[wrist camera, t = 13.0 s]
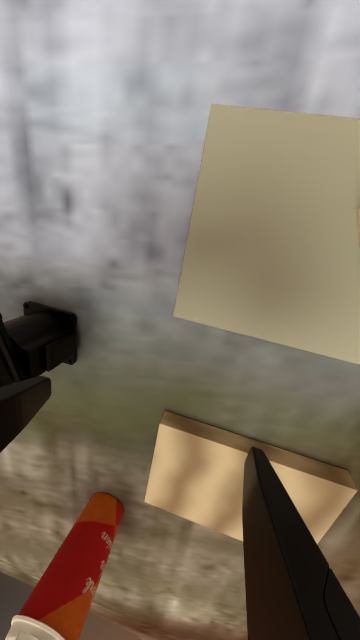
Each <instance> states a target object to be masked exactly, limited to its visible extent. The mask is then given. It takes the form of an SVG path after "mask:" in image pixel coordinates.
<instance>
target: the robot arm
mask: <svg viewBox="0 0 360 640" xmlns="http://www.w3.org/2000/svg"><path fill="white" fill-rule="evenodd" d="M23 307H24V316H22V317H19V318H16V319H13V320H10V321H7V322H4V323H3V321H2V315H1V313H0V453H1V452H2V450H3V449H4V448H5V447H6V446H7V445H8V444H9V443H10V442H11V441H12V440H13V439H14V438H15V437H16V436H17V435H18V434H19V433H20V432H21V431H22V430H23V429H24V428H25V427H26V425H27V424H28V423H29V422H30V421H31V419H32V418H33V417H34V416H35V415H36V413H37V412H38V411H39V410H40V409H41V407H42V406H43V405H44V404H45V402H46V401H47V400H48V399H49V397H50V395H51V380H50V378H48V377H45V376H39V375H41V374H42V373H44V372H45V371H48V372H49V371H51V370H52V369H53V368H55V367H56V366H58V365H59V364H61V363H62V362H63V363H66V364H70V365H73V364H74V363H75V362H76V316H75V314H73V313H70V312H66V311H63V310H59V309H55V308H52V307H48V306H45V305H41V304H37V303H34V302H30V301H28V302H25V303H24V304H23ZM71 318H72V319H71ZM71 360H72V361H71ZM242 526H243V546H244V567H245V588H246V609H247V629H248V640H360V617H359V615H358V613H357V612H356V610H355V608H354V607H353V605H352V603H351V602H350V600H349V598H348V597H347V595H346V593H345V592H344V590H343V588H342V587H341V585H340V583H339V581H338V580H337V578H336V576H335V574H334V573H333V571H332V569H331V568H329V564H328V562H327V561H326V559H325V557H324V555H323V554H322V552H321V550H320V548H319V547H318V545H317V543H316V541H315V540H314V538H313V536H312V534H311V533H310V531H309V529H308V527H307V526H306V524H305V522H304V521H303V519H302V517H301V515H300V514H299V512H298V510H297V508H296V507H295V505H294V503H293V501H292V500H291V498H290V496H289V494H288V493H287V491H286V489H285V487H284V486H283V484H282V482H281V480H280V479H279V477H278V475H277V473H276V472H275V470H274V468H273V467H272V465H271V463H270V461H269V460H268V458H267V456H266V454H265V453H264V451H263V450H262V449H260V448H257V447H254V446H252V447H251V448H250V450H249V453H248V455H247V457H246V460H245V464H244V479H243V499H242Z"/></svg>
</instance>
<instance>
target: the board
mask: <svg viewBox="0 0 360 640" xmlns="http://www.w3.org/2000/svg"><path fill="white" fill-rule="evenodd" d="M252 446H254V447H257V448H260V449H262V450H263V451H264V453H265V454H266V456H267V458H268V460H269V461H270V463H271V465H272V467H273V468H274V470H275V472H276V473H277V475H278V477H279V479H280V480H281V482H282V484H283V486H284V487H285V489H286V491H287V493H288V494H289V496H290V498H291V500H292V501H293V503H294V505H295V507H296V508H297V510H298V512H299V514H300V515H301V517H302V519H303V521H304V522H305V524H306V526H307V527H308V529H309V531H310V533H311V534H312V536H313V538H314V540H315V541H316V543H317V544H318V542H319V541H320V540H321V538H322V537H323V536H324V534H325V533H326V532H327V530H328V529H329V528H330V526H331V525H332V524H333V522H334V521H335V520H336V518H337V517H338V516H339V514H340V513H341V512H342V510H343V509H344V508H345V506H346V505H347V504H348V502H349V501H350V500H351V498H352V497H353V496H354V494H355V493H356V492H357V489H356V487H355V485H354V483H353V481H352V479H351V477H350V475H349V473H348V471H347V470H344V469H341V468H338V467H335V466H332V465H329V464H326V463H323V462H320V461H317V460H314V459H311V458H308V457H305V456H302V455H299V454H296V453H293V452H290V451H287V450H283V449H280V448H277V447H274V446H271V445H268V444H265V443H262V442H259V441H256V440H253V439H250V438H247V437H244V436H241V435H238V434H235V433H232V432H229V431H226V430H223V429H220V428H216V427H213V426H210V425H207V424H204V423H201V422H198V421H195V420H192V419H189V418H186V417H183V416H180V415H177V414H174V413H171V412H168V411H165V412H164V415H163V417H162V420H161V422H160V426H159V431H158V436H157V441H156V446H155V451H154V456H153V461H152V466H151V471H150V476H149V481H148V486H147V492H146V497H145V502H146V503H149V504H151V505H154V506H156V507H159V508H161V509H163V510H166V511H168V512H171V513H173V514H176V515H178V516H181V517H183V518H186V519H188V520H191V521H193V522H196V523H198V524H201V525H203V526H206V527H208V528H211V529H213V530H216V531H218V532H221V533H223V534H226V535H228V536H231V537H233V538H236V539H238V540H241V541H243V526H242V499H243V479H244V464H245V460H246V457H247V455H248V453H249V450H250V448H251V447H252Z"/></svg>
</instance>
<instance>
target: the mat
mask: <svg viewBox="0 0 360 640" xmlns="http://www.w3.org/2000/svg"><path fill="white" fill-rule="evenodd" d="M357 208H360V119H357V118H347V117H337V116H327V115H317V114H307V113H297V112H287V111H277V110H267V109H257V108H247V107H237V106H227V105H217V104H212V105H211V111H210V116H209V122H208V127H207V133H206V138H205V144H204V149H203V155H202V160H201V165H200V171H199V176H198V182H197V187H196V193H195V198H194V204H193V209H192V215H191V220H190V226H189V231H188V237H187V242H186V248H185V253H184V259H183V264H182V270H181V275H180V281H179V286H178V291H177V297H176V302H175V308H174V313H173V317H177V318H181V319H185V320H189V321H193V322H197V323H201V324H205V325H208V326H212V327H216V328H220V329H224V330H228V331H232V332H236V333H239V334H243V335H247V336H251V337H255V338H259V339H263V340H267V341H271V342H274V343H278V344H282V345H286V346H290V347H294V348H298V349H302V350H305V351H309V352H313V353H317V354H321V355H325V356H329V357H333V358H337V359H340V360H344V361H348V362H352V363H356V364H360V250H359V239H358V228H357V218H356V209H357Z"/></svg>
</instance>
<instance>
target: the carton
mask: <svg viewBox="0 0 360 640" xmlns="http://www.w3.org/2000/svg"><path fill="white" fill-rule="evenodd" d="M356 218H357V228H358V239H359V250H360V208H357V209H356Z"/></svg>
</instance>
